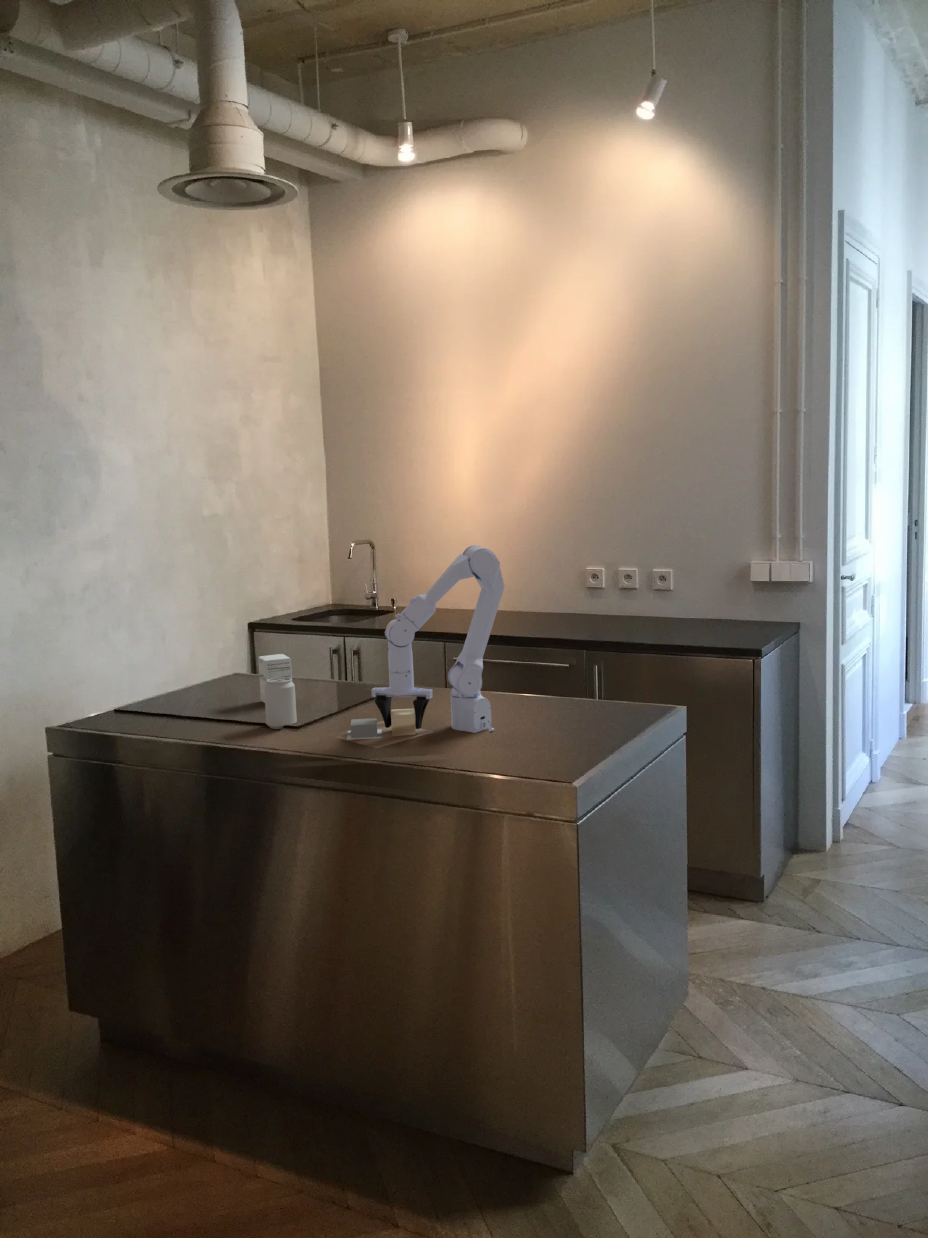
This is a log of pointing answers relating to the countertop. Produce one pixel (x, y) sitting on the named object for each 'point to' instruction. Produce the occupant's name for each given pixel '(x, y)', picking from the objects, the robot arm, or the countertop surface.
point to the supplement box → (273, 669)
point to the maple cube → (403, 722)
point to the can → (280, 702)
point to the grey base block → (363, 728)
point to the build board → (379, 736)
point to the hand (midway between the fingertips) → (403, 727)
